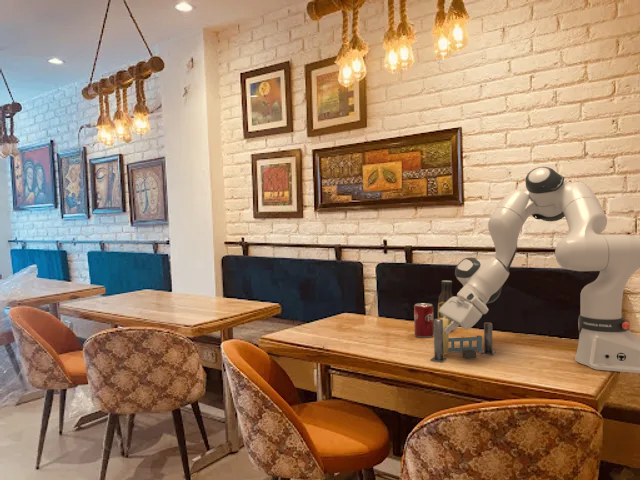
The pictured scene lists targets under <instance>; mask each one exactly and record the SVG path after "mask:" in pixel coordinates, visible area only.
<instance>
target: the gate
mask: <svg viewBox="0 0 640 480" xmlns="http://www.w3.org/2000/svg"><path fill="white" fill-rule="evenodd" d="M440 319H443V329H444V328H445V327H446V326H448V319H447V318H440ZM475 341H476V346H473V342H475ZM456 342H458V343H459V347H455V343H456ZM464 342H468V347H467V346H464ZM449 345H451V346H450V347H449ZM466 350H474V351H476V352H478V353H480V352H482V351H483V336H482V335H476V336H467V337H449V334H446V333H445V332H444V331H443V355H449V353H451V352H453V353H455V352H462V351H466Z"/></svg>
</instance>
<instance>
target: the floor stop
mask: <svg viewBox="0 0 640 480" xmlns="http://www.w3.org/2000/svg"><path fill="white" fill-rule="evenodd" d="M461 352H462V353H461V354H462V355H461V357H462V359H465V360H468V361H469V360H473V359H477V351H474V350H466V351H461Z"/></svg>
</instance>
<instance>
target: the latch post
mask: <svg viewBox="0 0 640 480" xmlns="http://www.w3.org/2000/svg"><path fill="white" fill-rule="evenodd" d="M433 345H434V346H433V348H434V349H433V351H434V352H433V354H434V355H433V357H432V358H430V362H436V363H444V362H445V361H447V360H448V357H444V354H443V319H438V318H434V335H433Z"/></svg>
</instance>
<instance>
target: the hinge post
mask: <svg viewBox="0 0 640 480" xmlns="http://www.w3.org/2000/svg"><path fill="white" fill-rule="evenodd" d="M483 330H484V331H483V346H484V347H483V349H482V352H479V353H480V354H481V355H485V356H494V355H495V354H496V353H497V351H496V350H493V323H492V322H489V321H488V322H484V323H483Z"/></svg>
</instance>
